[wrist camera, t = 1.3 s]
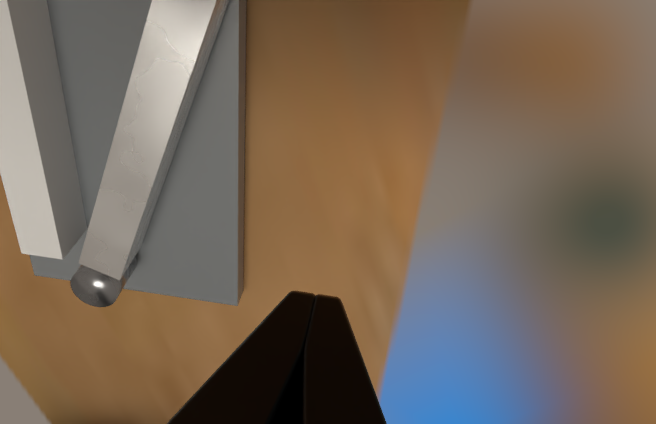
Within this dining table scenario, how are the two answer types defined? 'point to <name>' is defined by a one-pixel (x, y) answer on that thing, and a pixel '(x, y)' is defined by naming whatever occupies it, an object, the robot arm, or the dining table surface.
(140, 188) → the tong arm
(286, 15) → the dining table surface
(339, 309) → the robot arm
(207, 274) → the grey flat piece
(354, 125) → the dining table surface
